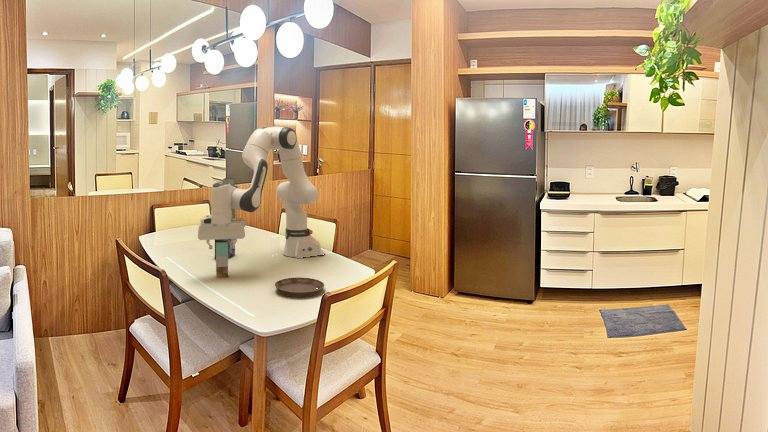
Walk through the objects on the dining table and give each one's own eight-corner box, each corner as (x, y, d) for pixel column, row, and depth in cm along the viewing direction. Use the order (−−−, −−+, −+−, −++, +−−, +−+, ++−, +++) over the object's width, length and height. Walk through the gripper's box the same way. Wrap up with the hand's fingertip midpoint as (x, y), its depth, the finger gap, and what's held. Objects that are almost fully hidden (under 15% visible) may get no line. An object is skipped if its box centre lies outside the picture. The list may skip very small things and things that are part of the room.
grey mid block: (227, 263, 237) (227, 253, 236) (228, 266, 232) (227, 255, 231) (216, 264, 235) (215, 253, 234) (216, 267, 231) (216, 256, 230)
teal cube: (227, 253, 236) (227, 242, 235) (228, 255, 231) (227, 244, 231) (215, 253, 234) (215, 242, 234) (216, 256, 230) (216, 245, 229)
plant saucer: (326, 284, 228) (326, 277, 228) (321, 300, 208) (322, 292, 207) (279, 283, 228) (279, 276, 227) (270, 298, 207) (270, 290, 207)
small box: (225, 260, 261) (225, 240, 260) (214, 259, 263) (213, 239, 261) (235, 255, 272) (235, 236, 270) (224, 254, 273) (224, 235, 271)
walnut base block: (227, 274, 238) (227, 263, 237) (228, 277, 233) (228, 266, 232) (216, 274, 236) (216, 264, 235) (216, 277, 231) (216, 267, 231)
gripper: (244, 216, 237) (245, 246, 239) (197, 217, 230) (198, 248, 232) (246, 219, 231) (246, 249, 233) (197, 220, 224) (198, 251, 226)
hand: (221, 248), depth 232 cm, fingers open, 8 cm apart
